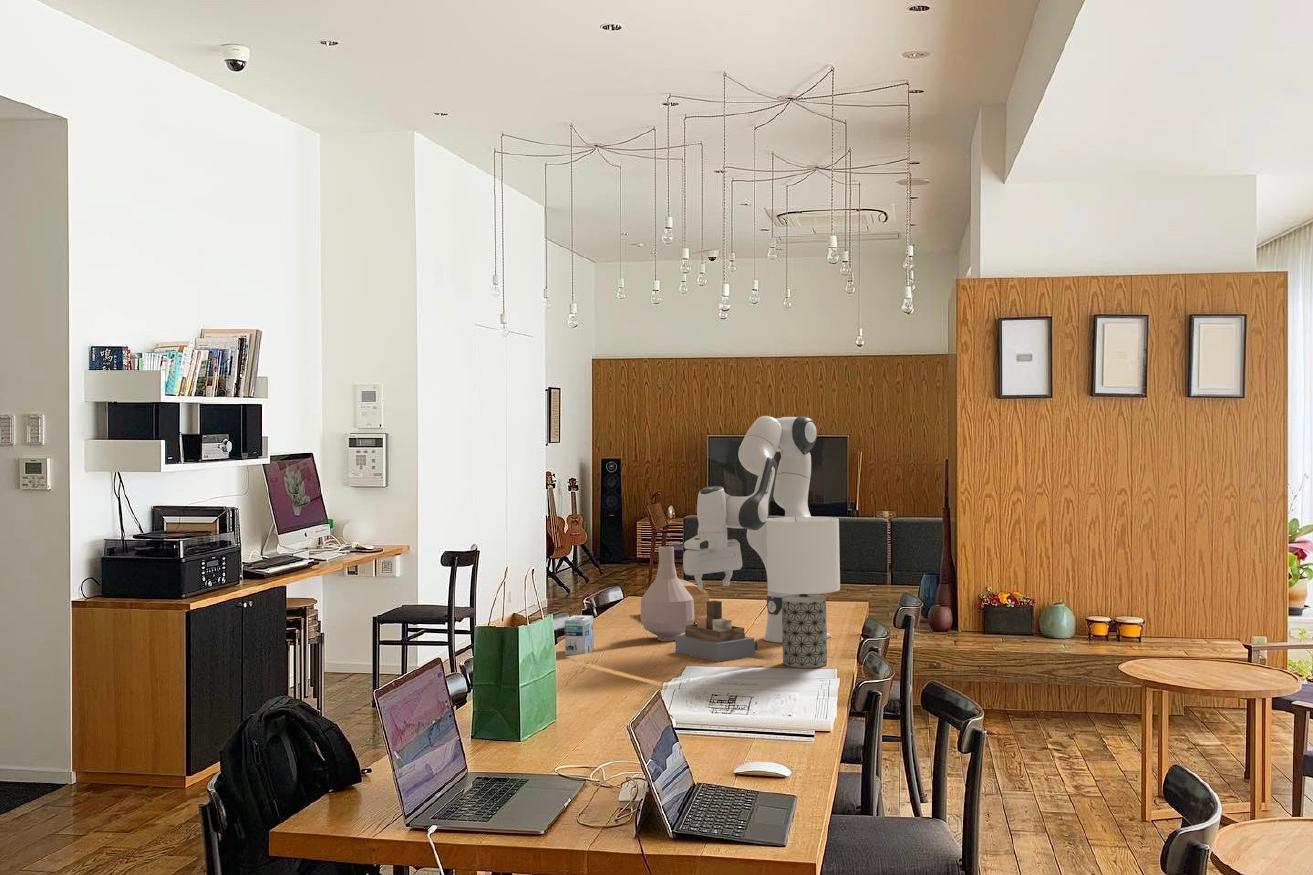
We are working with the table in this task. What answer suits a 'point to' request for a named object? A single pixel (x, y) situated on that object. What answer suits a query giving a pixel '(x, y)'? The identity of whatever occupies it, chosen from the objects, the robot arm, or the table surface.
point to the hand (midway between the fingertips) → (714, 587)
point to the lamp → (803, 583)
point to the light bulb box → (579, 635)
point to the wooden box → (697, 598)
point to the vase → (667, 601)
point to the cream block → (722, 624)
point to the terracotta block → (702, 622)
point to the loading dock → (716, 648)
